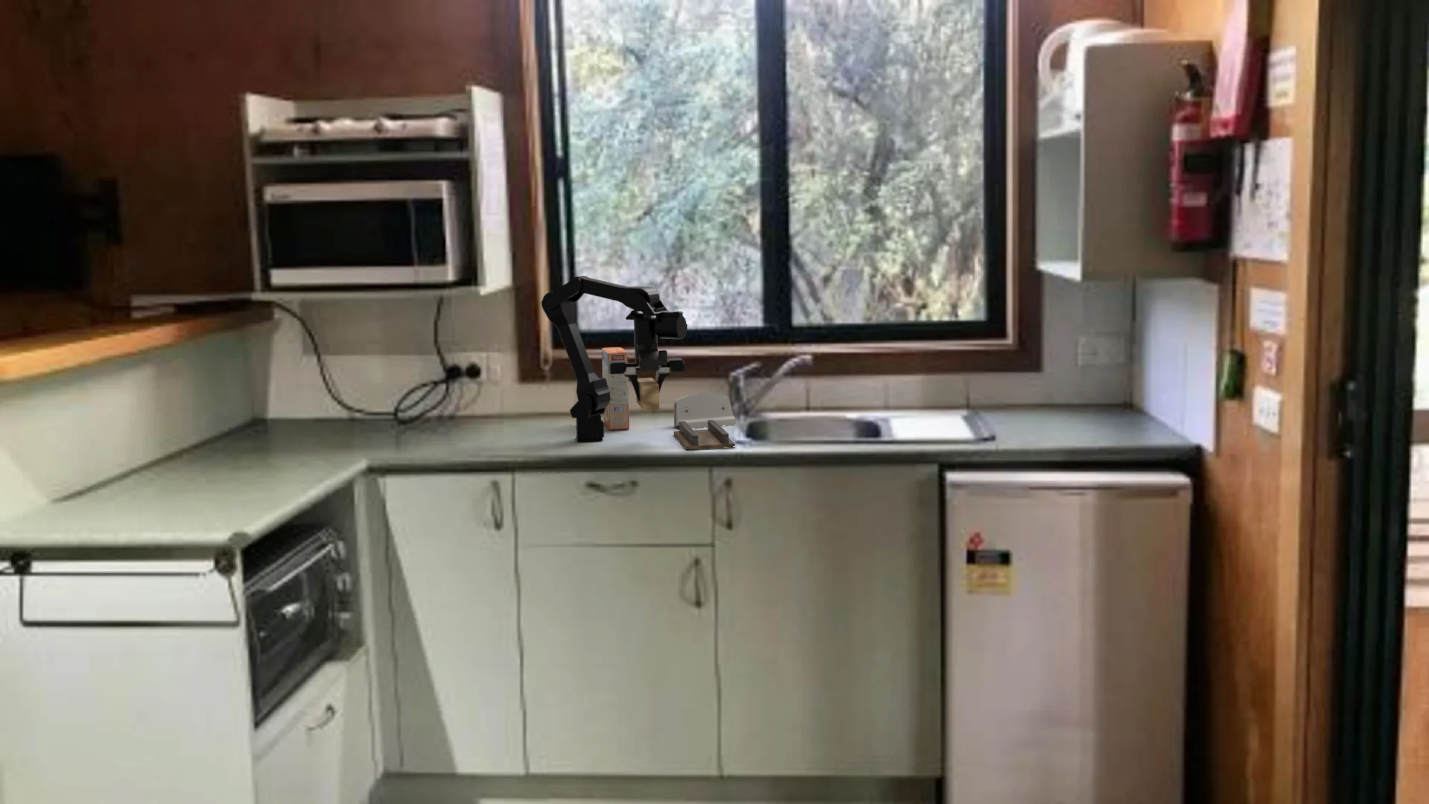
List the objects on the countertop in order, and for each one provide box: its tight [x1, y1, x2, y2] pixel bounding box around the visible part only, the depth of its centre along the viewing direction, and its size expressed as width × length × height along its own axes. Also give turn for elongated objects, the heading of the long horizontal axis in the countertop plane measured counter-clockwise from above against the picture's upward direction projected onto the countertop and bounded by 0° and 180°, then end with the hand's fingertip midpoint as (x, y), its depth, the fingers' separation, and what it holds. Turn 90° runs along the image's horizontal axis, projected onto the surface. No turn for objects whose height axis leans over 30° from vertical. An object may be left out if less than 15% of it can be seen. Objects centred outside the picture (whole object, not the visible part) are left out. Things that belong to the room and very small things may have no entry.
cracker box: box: [601, 346, 630, 431], centre depth 359 cm, size 14×6×21 cm, turn 10°
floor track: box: [673, 420, 736, 450], centre depth 335 cm, size 12×22×4 cm, turn 10°
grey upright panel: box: [673, 392, 737, 429], centre depth 359 cm, size 17×5×10 cm, turn 110°
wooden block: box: [635, 377, 660, 411], centre depth 332 cm, size 4×14×6 cm, turn 10°
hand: (647, 400), depth 332 cm, fingers closed on wooden block, 4 cm apart
